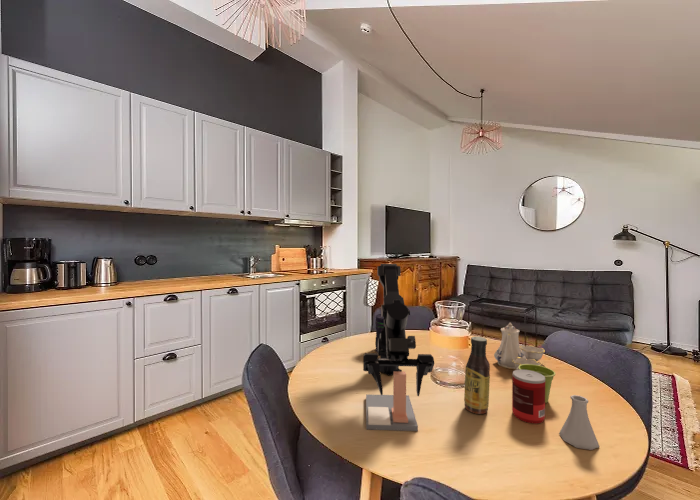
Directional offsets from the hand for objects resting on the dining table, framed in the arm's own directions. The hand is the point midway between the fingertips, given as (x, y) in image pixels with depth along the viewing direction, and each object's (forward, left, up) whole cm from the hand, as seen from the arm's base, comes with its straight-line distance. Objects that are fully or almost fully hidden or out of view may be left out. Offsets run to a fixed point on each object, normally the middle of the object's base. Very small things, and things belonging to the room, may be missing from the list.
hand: (400, 395), depth 81 cm
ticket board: (-1, -5, -7) cm, 9 cm away
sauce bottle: (-22, +8, -7) cm, 24 cm away
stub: (-1, -1, -6) cm, 6 cm away
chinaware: (-64, 0, -8) cm, 64 cm away
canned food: (-30, +18, -7) cm, 36 cm away
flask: (-28, +30, -7) cm, 42 cm away
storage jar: (-37, -43, -7) cm, 57 cm away
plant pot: (-42, +15, -7) cm, 45 cm away
